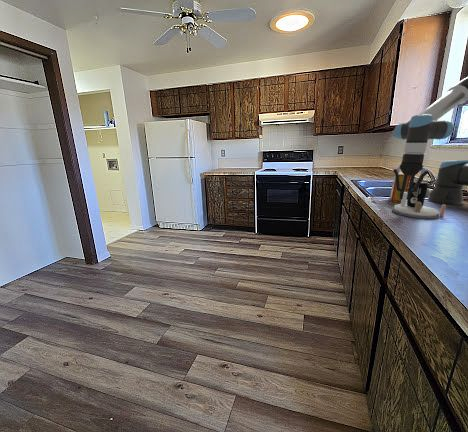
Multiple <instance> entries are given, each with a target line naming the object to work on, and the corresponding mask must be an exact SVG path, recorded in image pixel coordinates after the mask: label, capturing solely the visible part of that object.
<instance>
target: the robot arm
mask: <svg viewBox="0 0 468 432" xmlns="http://www.w3.org/2000/svg"><path fill="white" fill-rule="evenodd" d="M467 101H468V76H467V77H465V78H463V79H462V80H460V81H459V82H457V83H455V84H454V85H453V86H451V87H449V89H448V90H447V92H446V93H445V94H444V95H443V96H441V97H440V98H439V99H437V100H436V101H434V102H433V103H432V104H431V105H429V106H428V107H427V108H425V109H424V110H423V111H421V112H420V113H419V114H414V115H413V116H411V118H410V120H408V122H403V123H398V124H397V125H396V126H395V128H394V129H393V136H394V137H395V139H397V140H406V141H405V145H404V149H403V155H402V159H401V163H400V164H399V167H397V168H393V170H392V171H393V174H394V175H395V179H396V189H397V191H400V196H399V198H400V199H402V200H401V203H400V204H401V205H400V206H401V207H405V204H407V200H409V199H410V195H411V193H412V192H416V191H417V189H418V187H419V185H420V184H421V182H422V181H423V179H424V178H425V177H426V176H427V175H428V174H429V170H426V169H425V168H424V165H423V164H424V159H425V153H426V150H427V146H428V142H429V141H428V140H444V139H447V138H449V137H450V136H451V135H452V134H453V132H454V124H453V123H452V122H450V121H449V120H447V121H446V120H439V119H441V118H442V117H443V116H445V115H446V114H447V113H448V112H450V111H451V110H452V109H454V108H456V107H457V106H458V105H462V104H464V103H466V102H467ZM400 171H401V172H400ZM398 173H403V174H404V176H403V181H402V186H401V188H400V185H399V174H398ZM418 173H420V175H419V177H418V179H417V180H416V181H417V182H416V184H415V186H414V188H413V189H412V186H413V182H414V181H415V178H416V176H417V174H418ZM408 175H411V176H410V181H409V185H408V190H407V192H404V190H405V186H406V181H407V177H408ZM465 186H466V187H468V159H461V160H460V159H459V160H458V159H457V160H444V161H442V162H441V164H440V166H439V168H438V173H437V177H436V181H435V185H434V187H433V189H432V190H431V192H430V194H429V195H428V197H427V201H429V202H432V203H436V204H441V205H452V206H453V205H454V206H457V205H459V206H461V205H463V204H464V203H463V202H464V197H463V187H465Z"/></svg>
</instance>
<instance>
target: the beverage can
mask: <svg viewBox="0 0 468 432" xmlns="http://www.w3.org/2000/svg"><path fill="white" fill-rule="evenodd" d="M416 182H417V180H414V182H413V186H412V189H413V188H414V186H415V184H416ZM428 187H429V185H428V182H427V181H423V180H422V182H421V184H420V185H419V187H418V189H417V191H416V192H412V193H411V195H410V199H409V200H406V204H407V205H408V206H410V207H415V203H416V201H420V202H421V203H422V206H424V203H425V200H426V196H427V191H428ZM422 206H421V207H422Z"/></svg>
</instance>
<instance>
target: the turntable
mask: <svg viewBox="0 0 468 432" xmlns="http://www.w3.org/2000/svg"><path fill="white" fill-rule="evenodd" d="M400 205H401V203H398V204H395V205H394V207H393V208H394V210H396V211H398V212H401V213H404V214H409V215H415V216H426V217H431V216H437V215H438V214H439V213H440V211H439V210H438V209H436V208H433V207H429V206H425V205H423V206H422V203H421V202H420V201H416V203H415V207H410V206H408V205H407V203H406V204H405V207H401V206H400ZM421 206H422V207H421Z"/></svg>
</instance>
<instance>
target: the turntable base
mask: <svg viewBox="0 0 468 432" xmlns="http://www.w3.org/2000/svg"><path fill="white" fill-rule="evenodd" d="M446 208H447V204H441V208H440V211H439V213H438V215H437V216H431V217H426V216H415V215H409V214H404V213H401V212H398V211H396V210H394V207H393V208H392V213H394V214H396V215H399V216H403V217H405V218H406V217H407V218H410V219H420V220H437V219H439V217H440V218H443V217H444V215H445V211H446Z"/></svg>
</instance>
